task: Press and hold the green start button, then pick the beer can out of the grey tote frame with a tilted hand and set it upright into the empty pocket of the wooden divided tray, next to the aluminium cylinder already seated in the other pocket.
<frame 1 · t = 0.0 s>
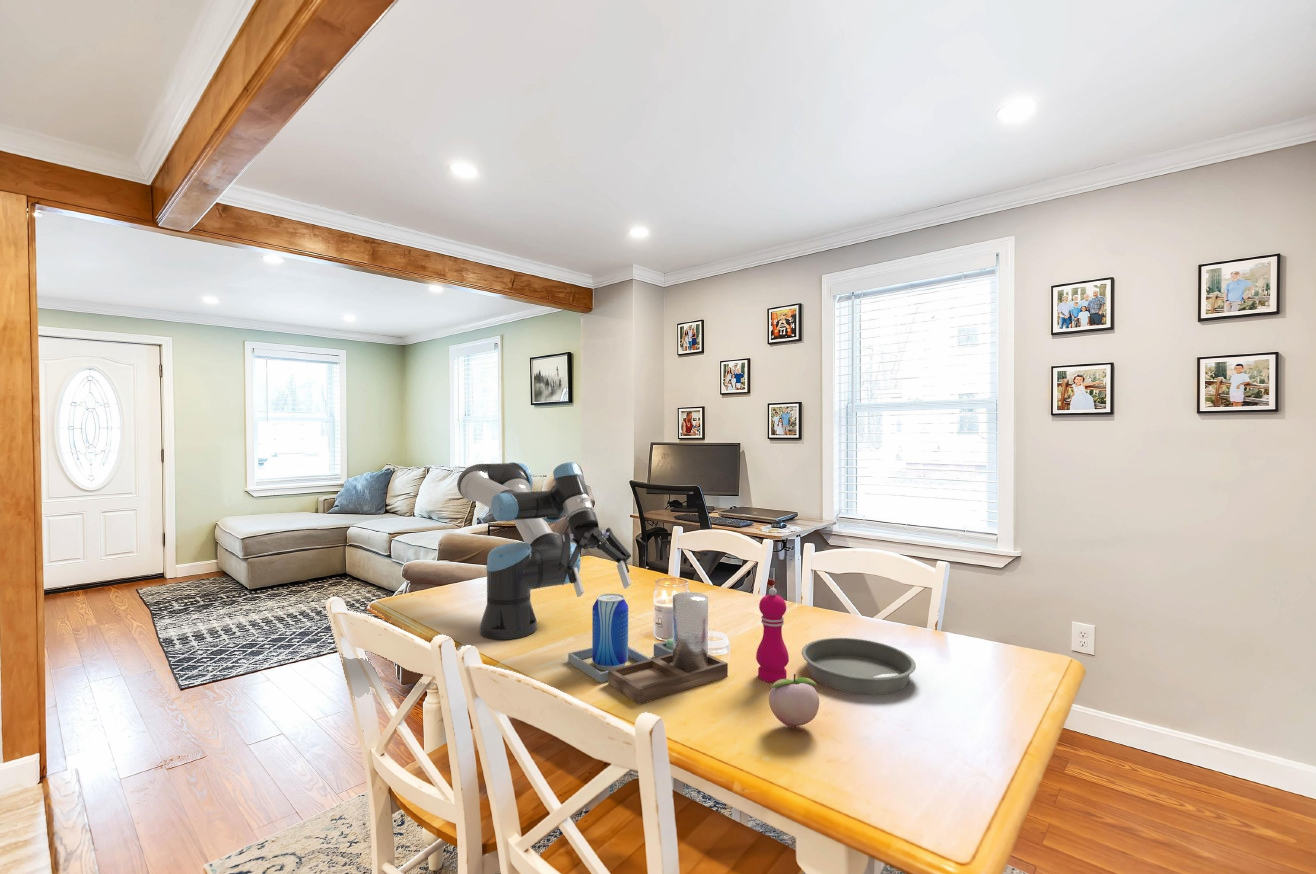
hand: (605, 590, 150), 15 cm above the table, tool tilted 35°, fingers open, 13 cm apart
cake pan: (856, 676, 137), on the table
tote frame: (610, 664, 142), on the table
wooden divided tray: (668, 680, 133), on the table
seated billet: (690, 667, 137), resting on wooden divided tray
button housing: (673, 657, 147), on the table
beer can: (610, 665, 142), resting in tote frame
decorative fruit: (795, 729, 112), on the table
pepper mill: (772, 678, 135), on the table
start button: (673, 648, 147), point 2 cm above the table, slide at 1.0 cm
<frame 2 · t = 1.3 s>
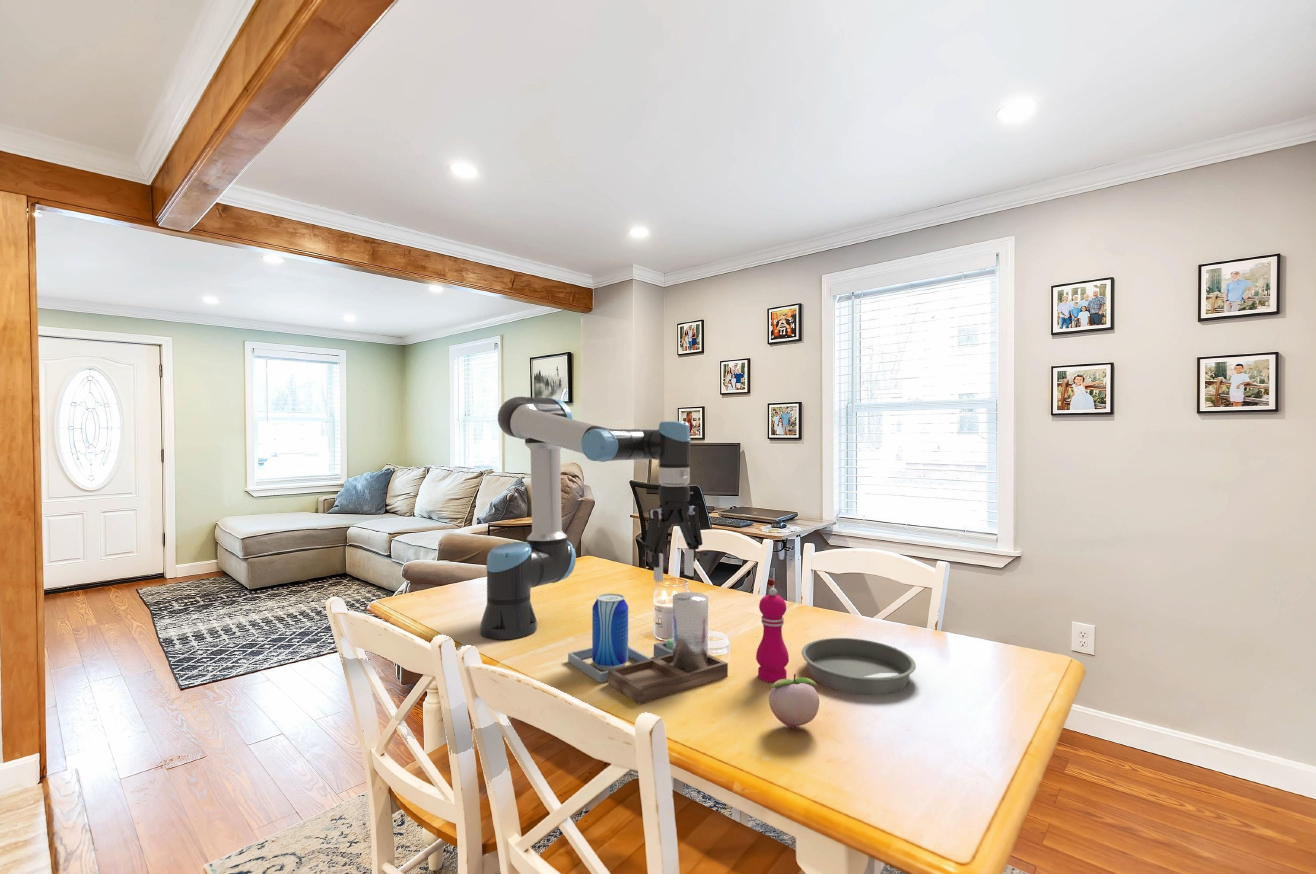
hand: (673, 577, 147), 19 cm above the table, tool pointing down, fingers open, 9 cm apart
nothing on the table moved.
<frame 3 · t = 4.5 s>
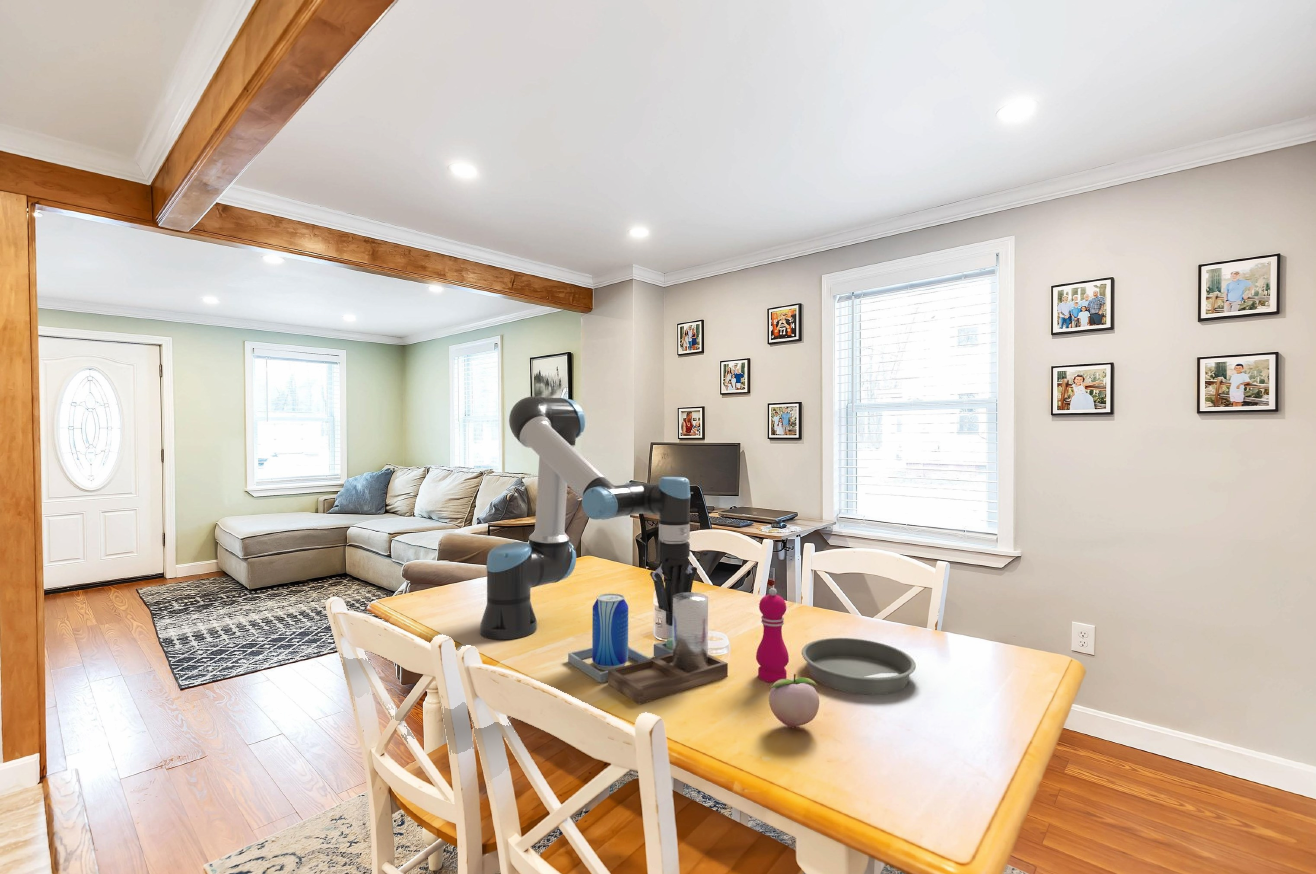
hand: (673, 637, 147), 5 cm above the table, tool pointing down, fingers closed
nothing on the table moved.
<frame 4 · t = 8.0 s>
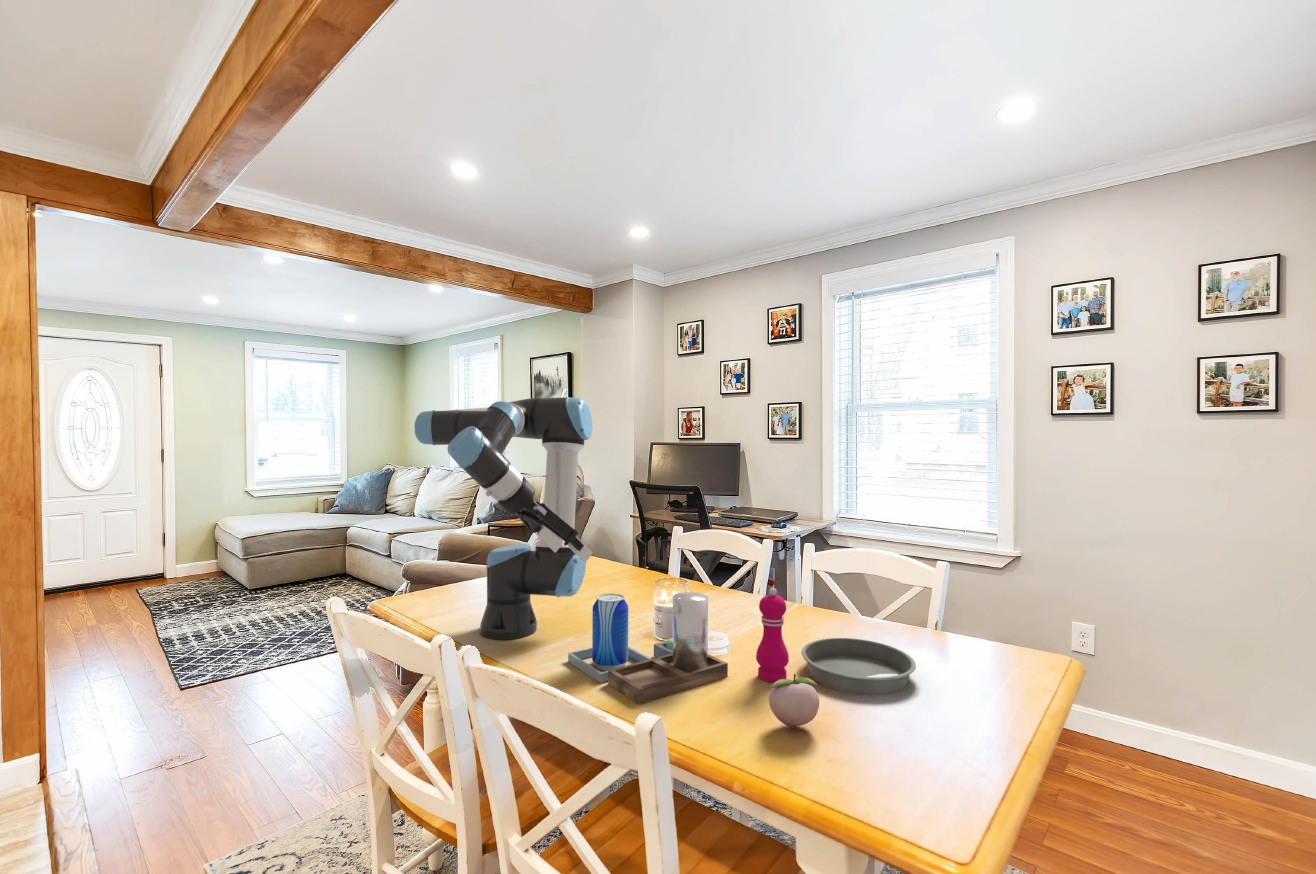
hand: (573, 552, 136), 28 cm above the table, tool tilted 45°, fingers open, 13 cm apart
nothing on the table moved.
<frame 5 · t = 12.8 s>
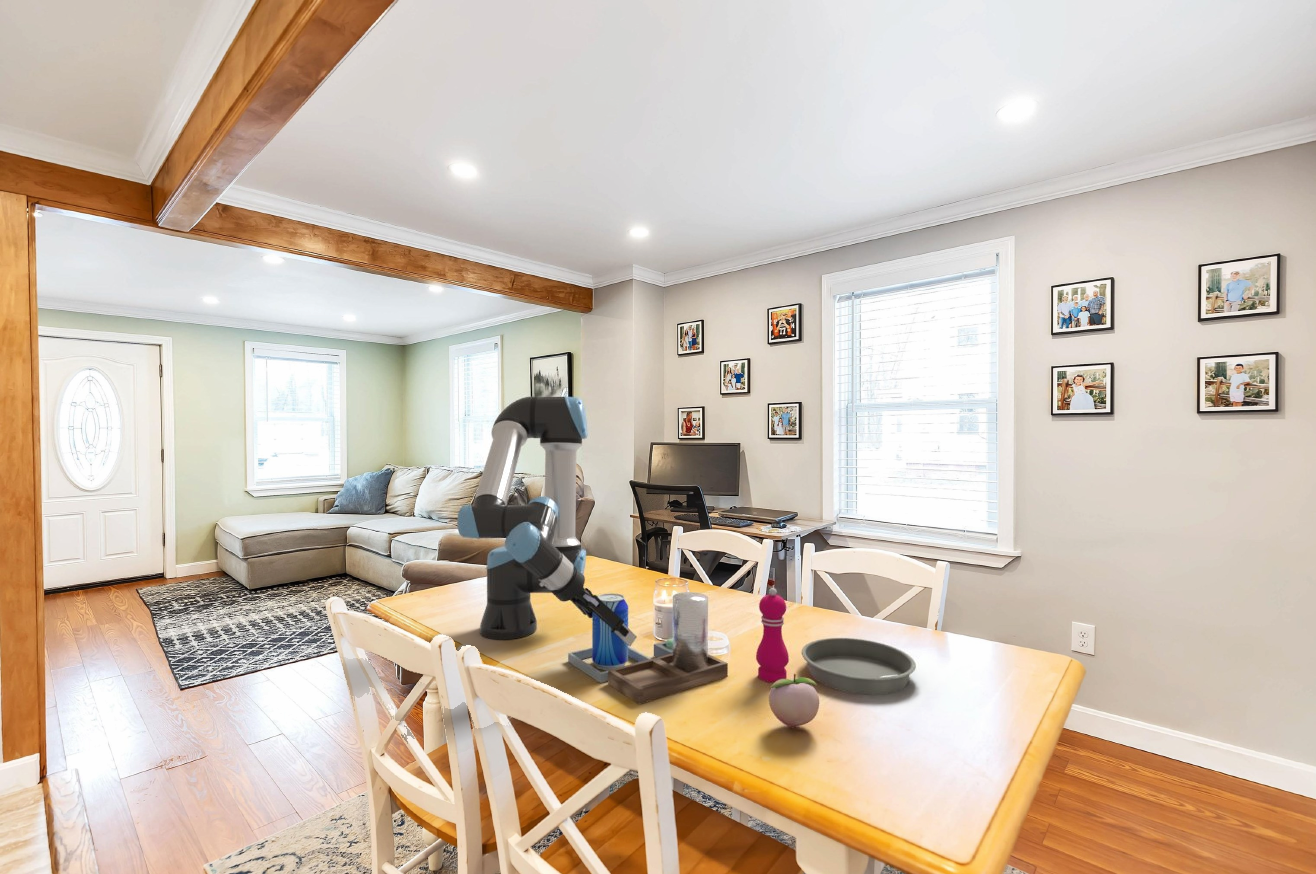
hand: (622, 635, 144), 6 cm above the table, tool tilted 45°, fingers closed on beer can, 8 cm apart
beer can: (610, 665, 142), resting in tote frame, touching gripper
everything else where it was.
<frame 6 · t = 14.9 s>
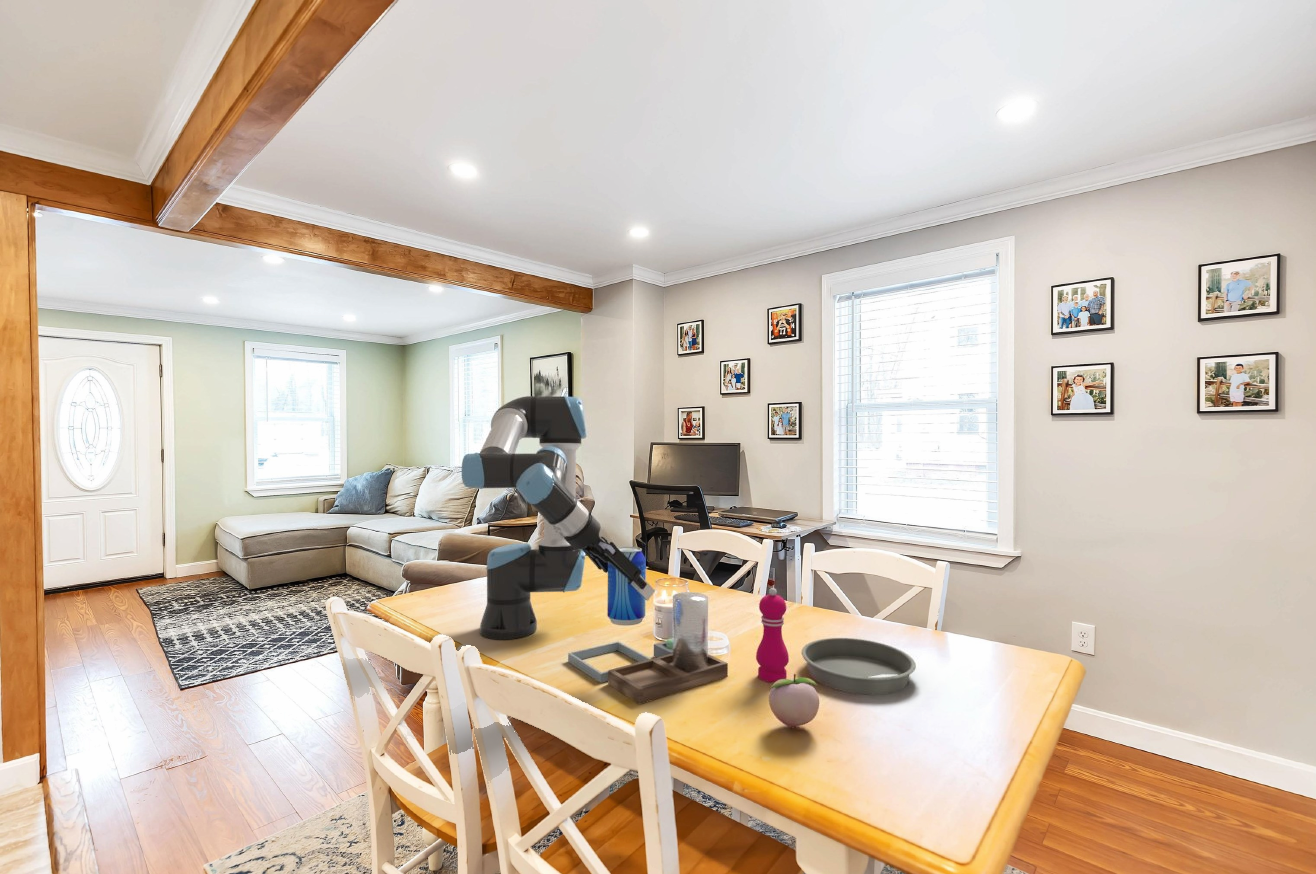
hand: (639, 591, 136), 19 cm above the table, tool tilted 45°, fingers closed on beer can, 8 cm apart
beer can: (626, 622, 134), point 13 cm above the table, touching gripper
everything else where it was.
when the fingers open (9 cm above the table, at t = 17.4 s): beer can drops 1 cm, resting on wooden divided tray.
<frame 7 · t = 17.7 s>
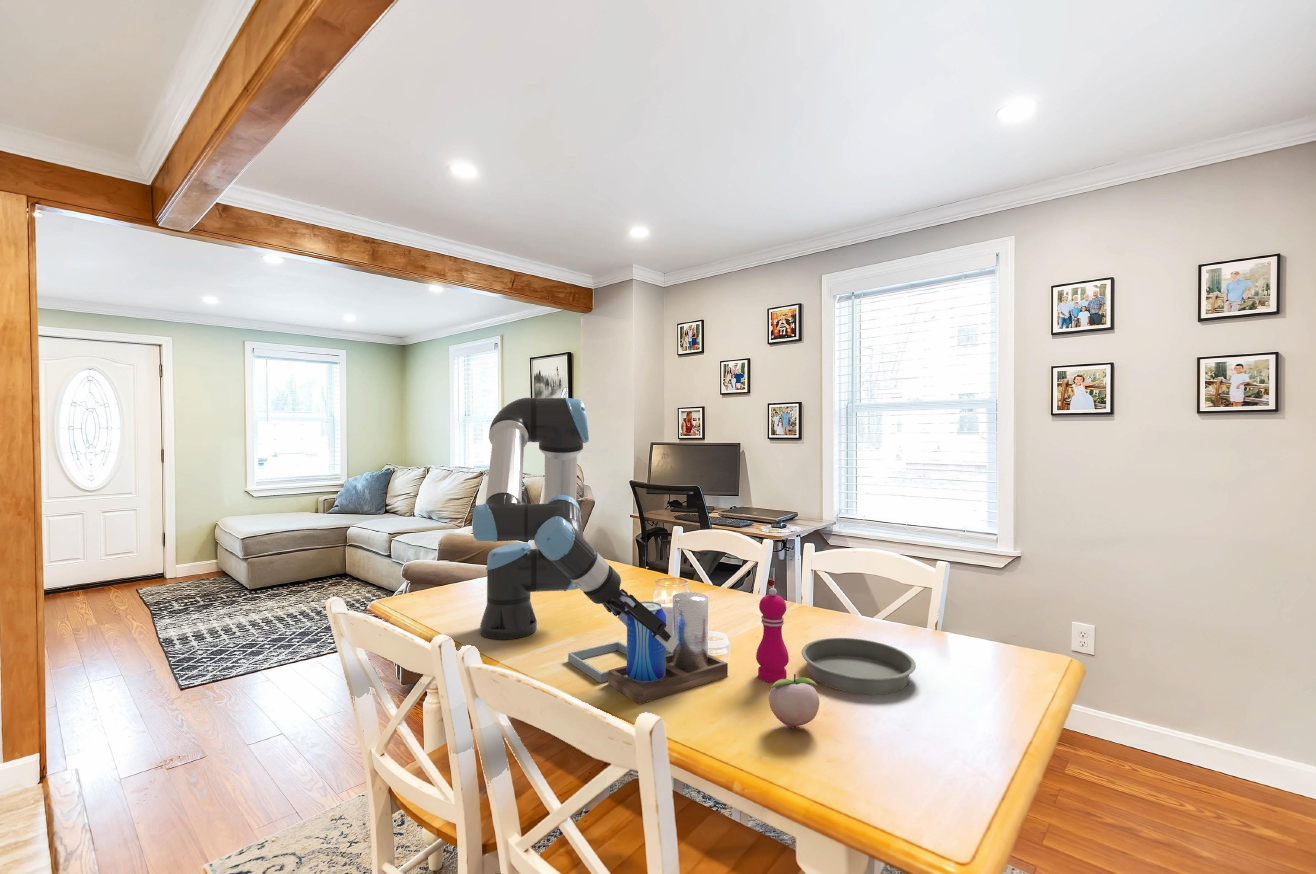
hand: (656, 638, 131), 10 cm above the table, tool tilted 45°, fingers open, 12 cm apart
beer can: (646, 680, 130), point 1 cm above the table, touching wooden divided tray
everything else where it was.
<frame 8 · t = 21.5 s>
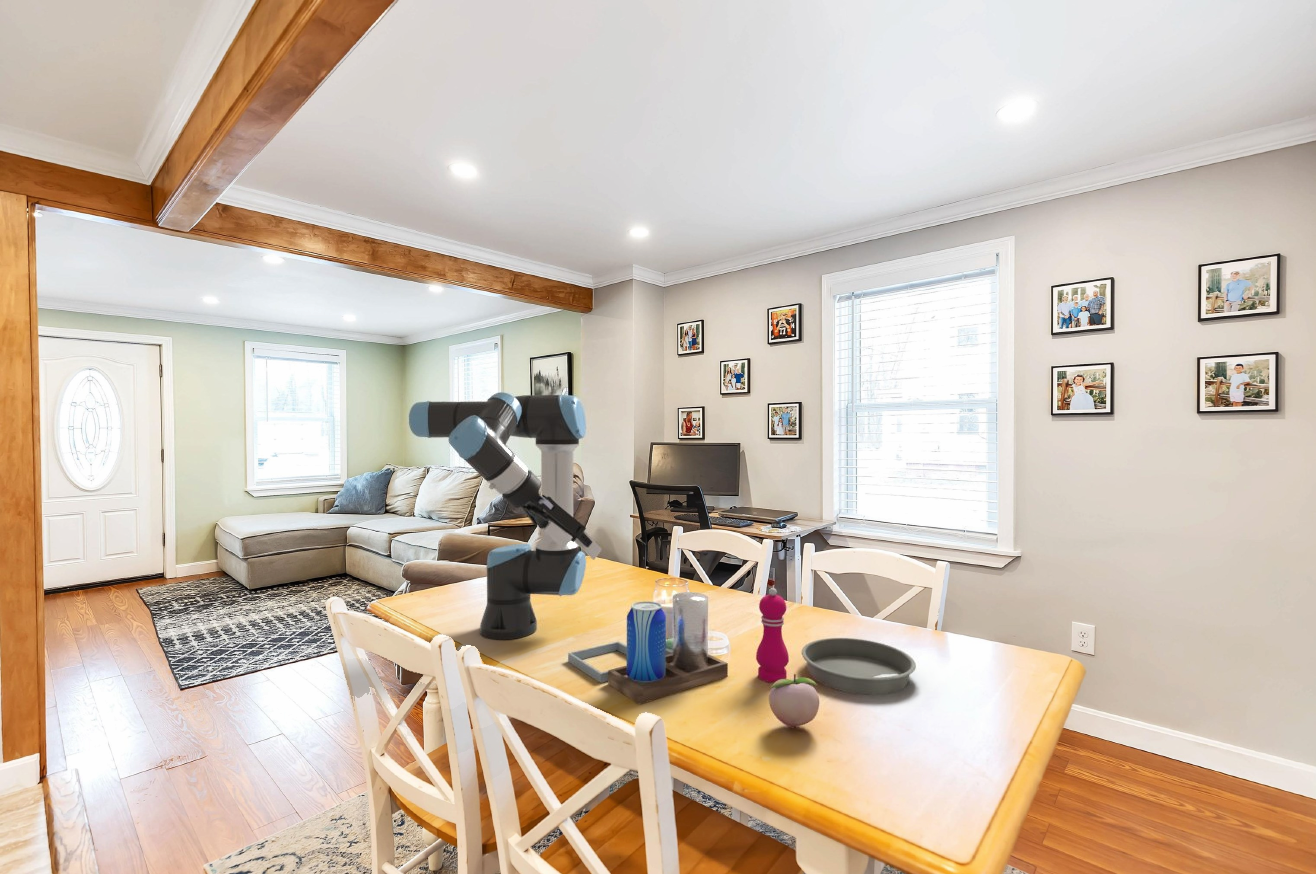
hand: (581, 549, 129), 30 cm above the table, tool tilted 45°, fingers open, 13 cm apart
nothing on the table moved.
at the end: beer can inside the target area (0.2 cm from its centre), point 1.3 cm above the table; beer can tilted 0°; the gripper is holding nothing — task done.
